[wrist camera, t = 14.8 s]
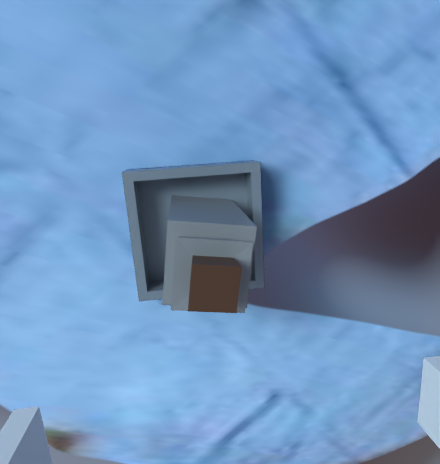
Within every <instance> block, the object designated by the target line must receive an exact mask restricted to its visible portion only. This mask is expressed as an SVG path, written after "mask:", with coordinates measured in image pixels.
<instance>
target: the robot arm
mask: <svg viewBox="0 0 440 464" xmlns="http://www.w3.org/2000/svg"><path fill="white" fill-rule="evenodd" d="M418 423H419V424H420V426H421V427H422V428H423V429H424V430H425V432H426V433H427V434H428V435H429V436H430V438H431V439H432V440H433V441H434V442H435V443H436V445H437V446H438V447H439V448H440V356H434V357H426V358H424V362H423V372H422V383H421V393H420V403H419V414H418ZM0 464H52V460H51V456H50V452H49V447H48V443H47V438H46V434H45V430H44V426H43V421H42V417H41V413H40V408H39V406H37V407H29V408H21V409H14V410H13V412H12V414H11V415H10V417H9V419H8V420H7V422H6V423H5V425H4V427H3V428H2V430H1V432H0Z"/></svg>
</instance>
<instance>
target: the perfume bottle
mask: <svg viewBox="0 0 440 464" xmlns="http://www.w3.org/2000/svg"><path fill="white" fill-rule="evenodd" d="M256 230H257V226H256V225H255V224H254V223H253V222H252V221H251V220H250V219H249V218H248V217H247V215H246V214H245V213H244V212H243V211H242V210H241V209H240V208H239V207H238V206H237V205H236V204H235V203H234V202H233V201H232V200H229V199H217V198H204V197H192V196H179V195H171V202H170V208H169V215H168V223H167V239H166V254H165V270H164V286H163V302H162V305H171V310H183V311H198V312H225V313H245V308H247V303H248V295H249V287H250V279H251V271H252V263H253V255H254V247H255V238H256Z"/></svg>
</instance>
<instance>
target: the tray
mask: <svg viewBox="0 0 440 464" xmlns="http://www.w3.org/2000/svg"><path fill="white" fill-rule="evenodd" d="M122 177H123V184H124V192H125V199H126V207H127V214H128V222H129V229H130V237H131V244H132V252H133V259H134V267H135V275H136V282H137V290H138V297H139V301H147V300H156V299H163V286H164V270H165V254H166V239H167V223H168V215H169V208H170V202H171V195H179V196H192V197H204V198H217V199H229V200H232V201H233V202H234V203H235V204H236V205H237V206H238V207H239V208H240V209H241V210H242V211H243V212H244V213H245V214H246V215H247V217H248V218H249V219H250V220H251V221H252V222H253V223H254V224H255V225H256V226H257V230H256V238H255V247H254V255H253V263H252V271H251V279H250V287H249V290H250V289H259V288H265V286H264V285H265V283H264V255H263V228H262V200H261V172H260V162H258V161H254V160H252V161H238V162H225V163H211V164H197V165H183V166H170V167H156V168H142V169H128V170H125V171H123V172H122Z"/></svg>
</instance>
